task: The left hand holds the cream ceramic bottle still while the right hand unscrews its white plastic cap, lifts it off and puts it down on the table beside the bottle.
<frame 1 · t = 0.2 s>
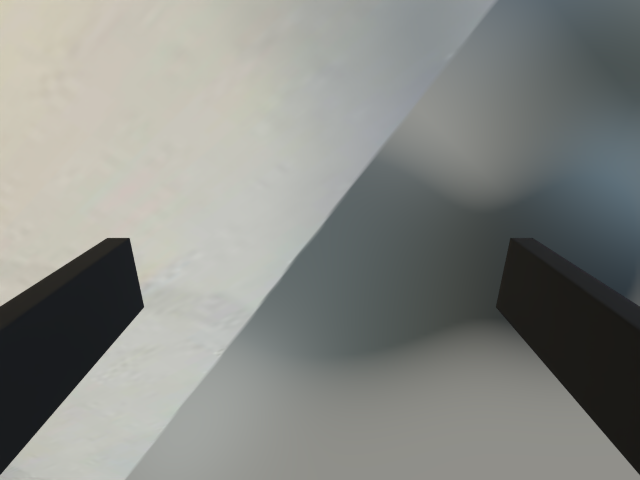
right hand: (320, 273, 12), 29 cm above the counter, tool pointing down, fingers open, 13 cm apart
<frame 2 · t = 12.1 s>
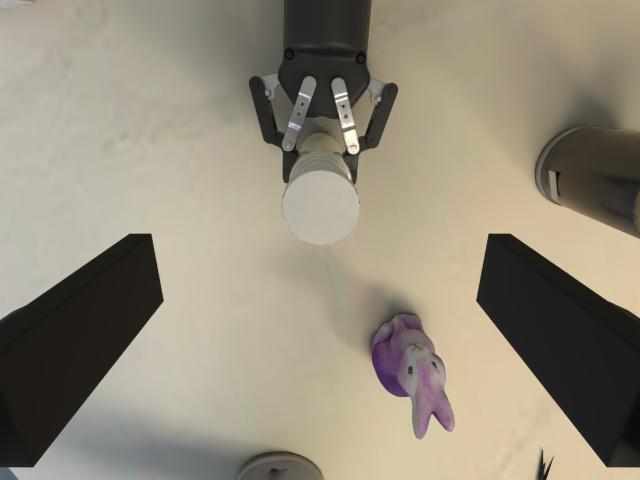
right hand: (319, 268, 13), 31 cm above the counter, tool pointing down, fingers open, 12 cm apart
left hand: (318, 187, 36), fingers closed on bottle, 4 cm apart
figurine: (397, 338, 51), on the counter
bottle: (320, 153, 42), on the counter, touching left hand
cap: (320, 207, 20), point 23 cm above the counter, screwed on, not yet turned
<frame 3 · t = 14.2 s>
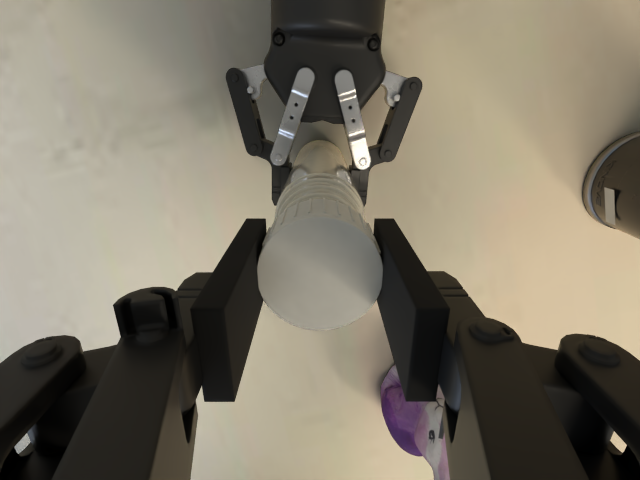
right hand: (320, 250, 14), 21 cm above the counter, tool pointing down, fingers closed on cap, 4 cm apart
left hand: (318, 210, 29), fingers closed on bottle, 4 cm apart
figurine: (411, 379, 43), on the counter
bottle: (320, 164, 34), on the counter, touching left hand
cap: (320, 273, 12), point 23 cm above the counter, screwed on, not yet turned, touching right hand
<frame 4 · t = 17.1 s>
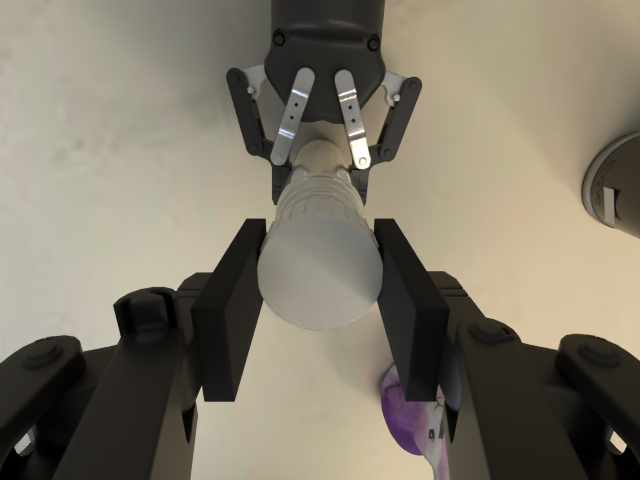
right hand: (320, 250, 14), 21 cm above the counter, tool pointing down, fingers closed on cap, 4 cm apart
left hand: (318, 210, 29), fingers closed on bottle, 4 cm apart
figurine: (411, 379, 43), on the counter
bottle: (320, 164, 34), on the counter, touching left hand
cap: (320, 273, 12), point 23 cm above the counter, turned 86° so far, risen 0.1 cm, still on its thread, touching right hand
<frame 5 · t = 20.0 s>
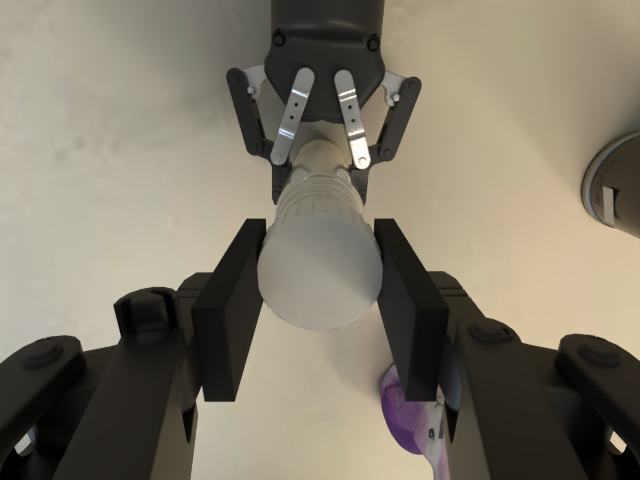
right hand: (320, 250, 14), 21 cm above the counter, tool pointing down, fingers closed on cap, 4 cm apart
left hand: (318, 210, 29), fingers closed on bottle, 4 cm apart
figurine: (410, 378, 44), on the counter
bottle: (319, 164, 34), on the counter, touching left hand
cap: (319, 273, 12), point 23 cm above the counter, turned 172° so far, risen 0.2 cm, still on its thread, touching right hand
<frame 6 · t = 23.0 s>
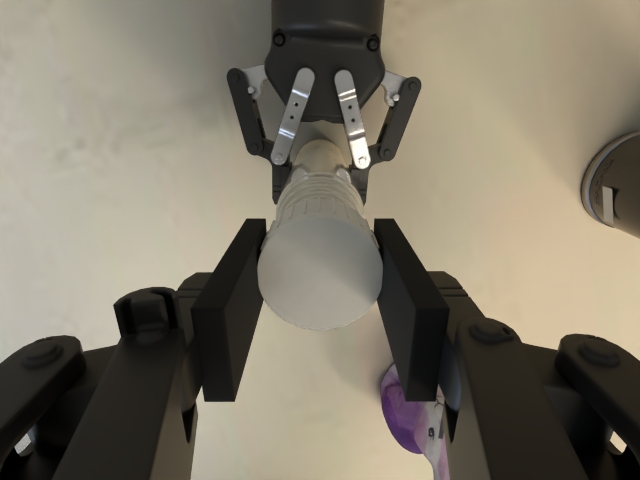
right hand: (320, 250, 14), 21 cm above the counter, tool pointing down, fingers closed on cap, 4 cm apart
left hand: (318, 209, 29), fingers closed on bottle, 4 cm apart
figurine: (410, 378, 44), on the counter
bottle: (320, 164, 34), on the counter, touching left hand
cap: (320, 273, 12), point 23 cm above the counter, turned 258° so far, risen 0.3 cm, still on its thread, touching right hand
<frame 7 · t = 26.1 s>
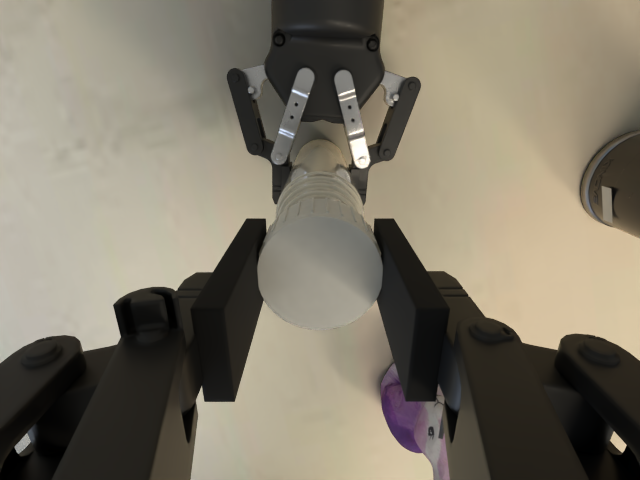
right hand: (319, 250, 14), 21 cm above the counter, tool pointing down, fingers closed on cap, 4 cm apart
left hand: (318, 209, 29), fingers closed on bottle, 4 cm apart
figurine: (410, 377, 44), on the counter
bottle: (320, 164, 34), on the counter, touching left hand
cap: (320, 273, 12), point 23 cm above the counter, turned 344° so far, risen 0.3 cm, still on its thread, touching right hand
when the right hand's fingers open (1 cm above the counter, at t = 33.4 s): cap drops 2 cm, point 2 cm above the counter.
when the left hand's fingers open (7 cm above the counter, at t = 34.7 s): bottle stays where it is, on the counter.
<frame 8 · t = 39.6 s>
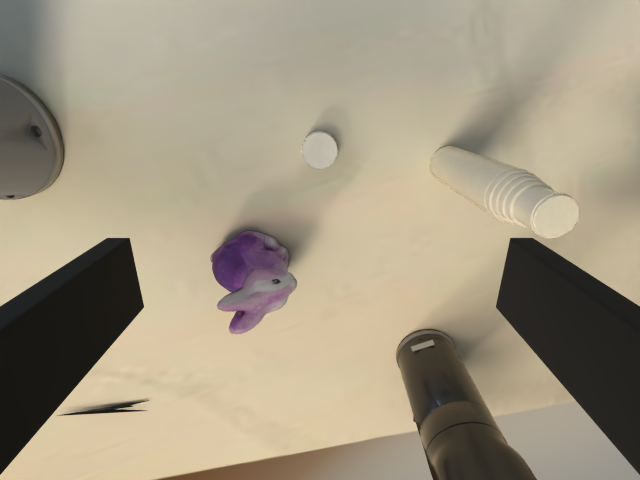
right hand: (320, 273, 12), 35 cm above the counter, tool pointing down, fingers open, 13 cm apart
figurine: (258, 253, 51), on the counter
bottle: (447, 164, 46), on the counter
cap: (319, 150, 44), point 2 cm above the counter, off its thread
feather: (77, 410, 62), on the counter
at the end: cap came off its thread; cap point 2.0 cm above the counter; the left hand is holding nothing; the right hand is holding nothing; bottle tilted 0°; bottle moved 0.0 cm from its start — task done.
